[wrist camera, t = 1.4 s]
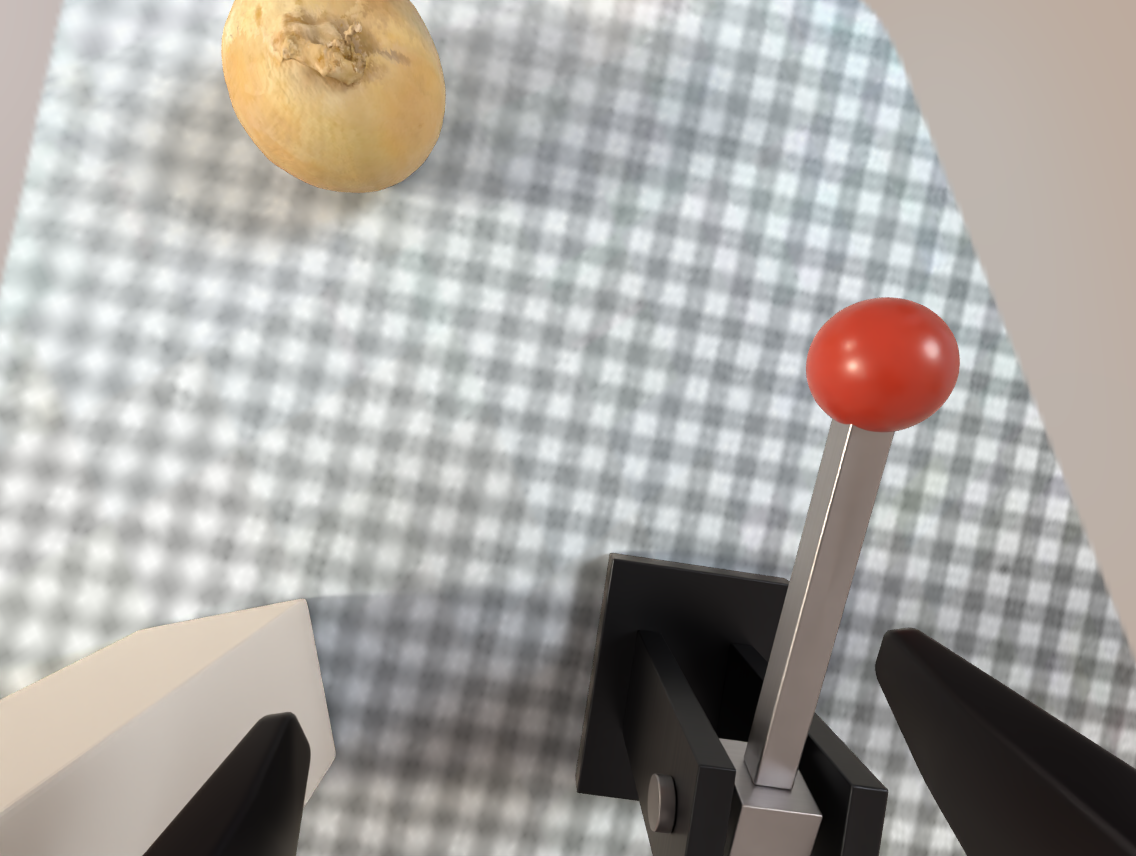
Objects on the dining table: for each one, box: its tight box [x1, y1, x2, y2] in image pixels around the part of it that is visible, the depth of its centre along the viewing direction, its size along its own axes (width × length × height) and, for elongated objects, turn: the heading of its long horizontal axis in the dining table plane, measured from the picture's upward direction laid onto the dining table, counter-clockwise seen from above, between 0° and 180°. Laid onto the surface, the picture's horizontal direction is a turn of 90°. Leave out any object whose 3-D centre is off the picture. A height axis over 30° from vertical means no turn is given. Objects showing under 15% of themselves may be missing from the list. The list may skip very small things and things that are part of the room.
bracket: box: [576, 553, 888, 856], centre depth 20 cm, size 10×8×11 cm
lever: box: [719, 297, 960, 856], centre depth 15 cm, size 16×3×3 cm, turn 171°
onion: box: [221, 0, 446, 193], centre depth 21 cm, size 8×8×7 cm
